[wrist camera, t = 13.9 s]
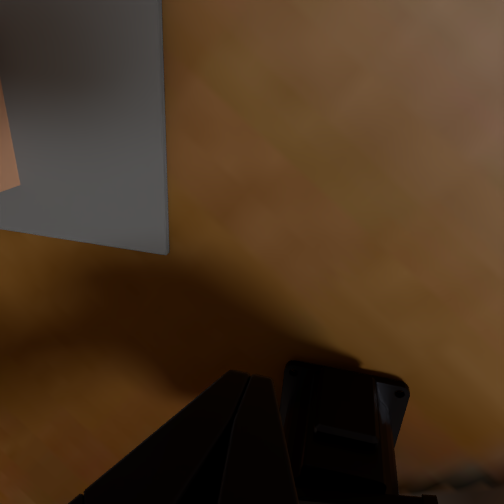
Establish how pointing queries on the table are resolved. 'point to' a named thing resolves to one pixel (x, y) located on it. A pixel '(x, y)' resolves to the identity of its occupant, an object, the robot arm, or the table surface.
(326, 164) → the table surface
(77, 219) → the mat
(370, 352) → the table surface
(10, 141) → the tile
